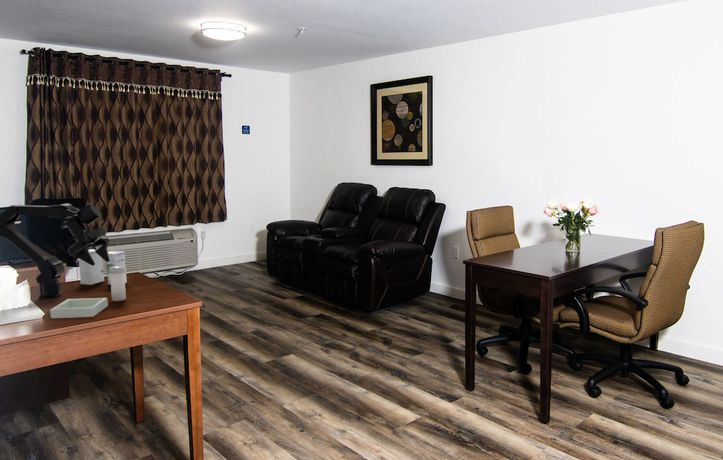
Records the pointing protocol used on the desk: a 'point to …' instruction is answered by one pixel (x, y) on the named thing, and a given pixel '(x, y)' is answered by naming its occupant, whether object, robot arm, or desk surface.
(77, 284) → the desk surface
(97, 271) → the skincare box
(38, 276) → the robot arm
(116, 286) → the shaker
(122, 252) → the syrup box
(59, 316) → the tray
